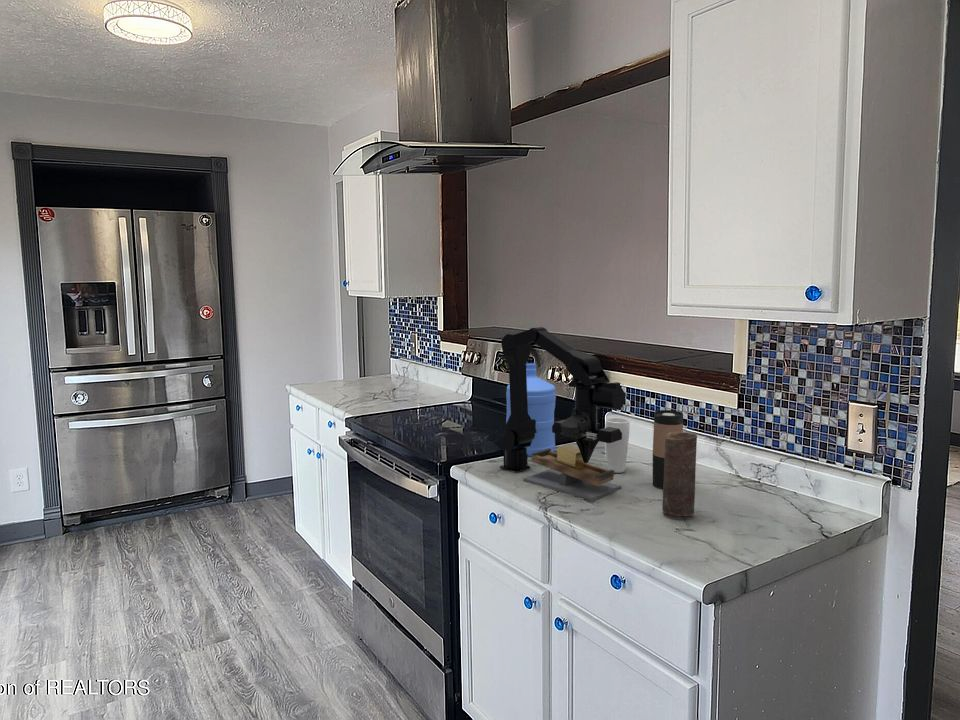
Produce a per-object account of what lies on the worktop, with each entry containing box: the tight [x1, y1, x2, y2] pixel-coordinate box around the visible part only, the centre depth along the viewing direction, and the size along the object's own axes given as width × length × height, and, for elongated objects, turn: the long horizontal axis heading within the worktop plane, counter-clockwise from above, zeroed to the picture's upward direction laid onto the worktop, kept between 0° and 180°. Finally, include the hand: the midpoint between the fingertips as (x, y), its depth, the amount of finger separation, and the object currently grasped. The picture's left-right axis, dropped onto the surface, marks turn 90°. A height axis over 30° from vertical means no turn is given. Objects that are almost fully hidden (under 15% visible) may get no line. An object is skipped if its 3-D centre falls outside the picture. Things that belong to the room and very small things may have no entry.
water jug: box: [505, 362, 557, 457], centre depth 221 cm, size 16×16×28 cm
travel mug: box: [652, 409, 684, 490], centre depth 186 cm, size 8×8×20 cm
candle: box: [661, 431, 698, 517], centre depth 164 cm, size 8×7×20 cm
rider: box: [557, 444, 585, 470], centre depth 187 cm, size 6×4×5 cm
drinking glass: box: [604, 417, 630, 474], centre depth 200 cm, size 7×7×15 cm
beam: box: [531, 448, 615, 486], centre depth 188 cm, size 22×7×2 cm, turn 46°
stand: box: [522, 468, 622, 502], centre depth 188 cm, size 23×13×4 cm, turn 46°
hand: (586, 462), depth 184 cm, fingers closed
